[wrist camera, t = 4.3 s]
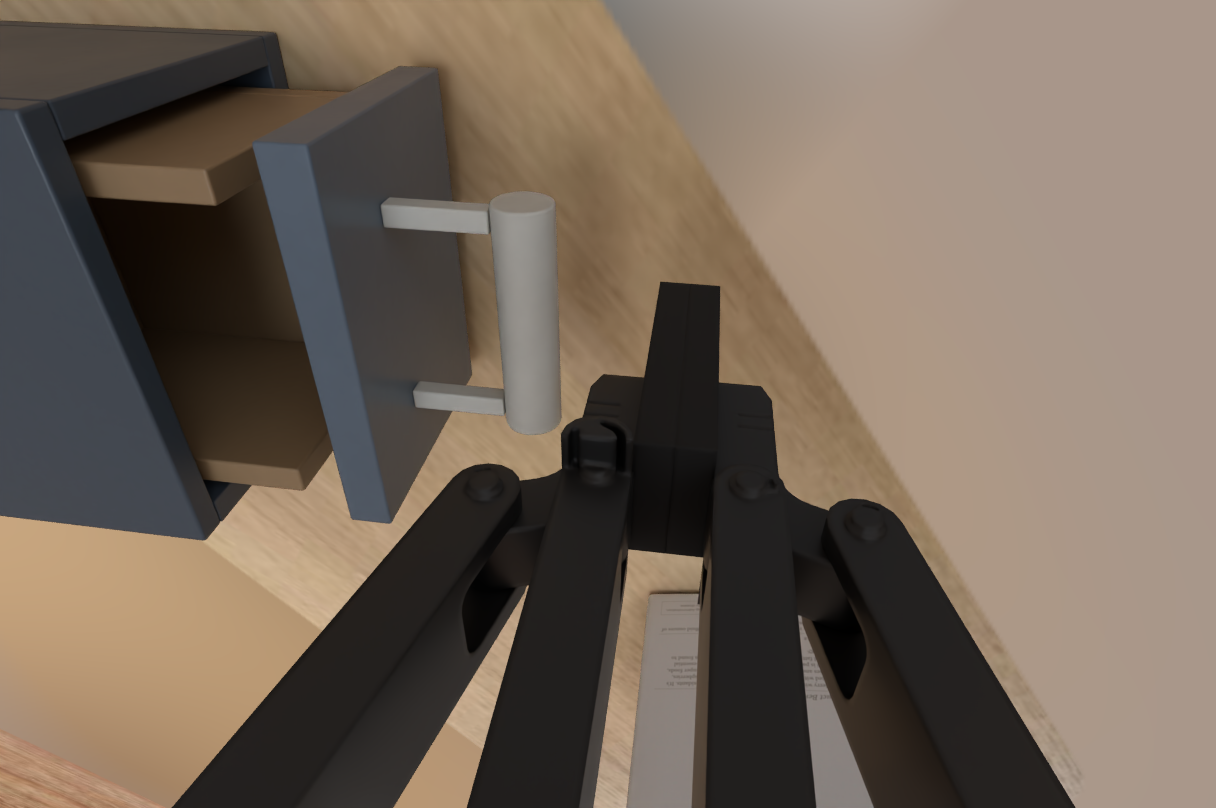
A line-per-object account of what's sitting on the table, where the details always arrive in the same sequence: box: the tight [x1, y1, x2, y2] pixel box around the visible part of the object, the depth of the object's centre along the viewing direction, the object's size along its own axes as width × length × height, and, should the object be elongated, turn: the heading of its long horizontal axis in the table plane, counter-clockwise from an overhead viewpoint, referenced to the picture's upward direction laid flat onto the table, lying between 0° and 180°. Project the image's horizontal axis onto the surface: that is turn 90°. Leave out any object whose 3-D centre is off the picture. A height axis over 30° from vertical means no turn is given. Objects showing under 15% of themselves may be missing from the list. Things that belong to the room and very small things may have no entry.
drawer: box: [63, 66, 562, 524], centre depth 21 cm, size 17×10×8 cm, turn 89°
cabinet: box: [0, 21, 289, 540], centre depth 22 cm, size 14×12×10 cm
